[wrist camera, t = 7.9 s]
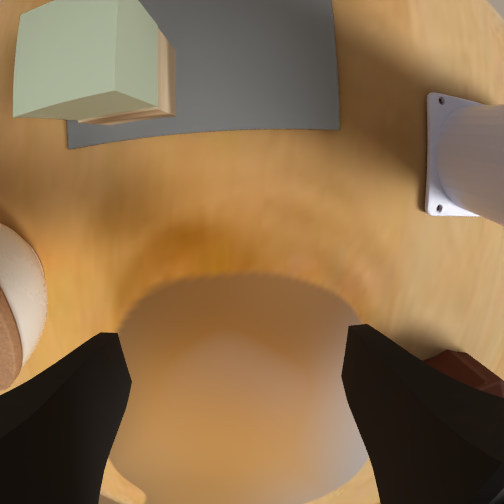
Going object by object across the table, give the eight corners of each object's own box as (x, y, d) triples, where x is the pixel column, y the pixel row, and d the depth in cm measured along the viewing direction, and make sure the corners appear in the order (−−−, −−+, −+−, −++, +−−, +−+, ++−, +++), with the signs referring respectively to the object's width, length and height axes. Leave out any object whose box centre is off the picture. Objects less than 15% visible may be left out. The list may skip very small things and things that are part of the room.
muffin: (472, 401, 26) (514, 463, 16) (381, 443, 27) (411, 520, 17) (485, 315, 22) (554, 381, 12) (374, 365, 23) (423, 463, 13)
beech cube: (175, 50, 15) (158, 27, 11) (176, 116, 16) (158, 109, 13) (109, 61, 15) (79, 45, 11) (110, 125, 16) (78, 122, 12)
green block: (158, 25, 11) (121, -21, 6) (157, 106, 12) (115, 90, 8) (79, 43, 11) (20, 14, 6) (77, 120, 12) (12, 117, 8)
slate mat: (323, -41, 13) (325, -44, 13) (337, 129, 17) (339, 129, 17) (78, -15, 13) (75, -18, 13) (71, 149, 17) (68, 149, 17)
